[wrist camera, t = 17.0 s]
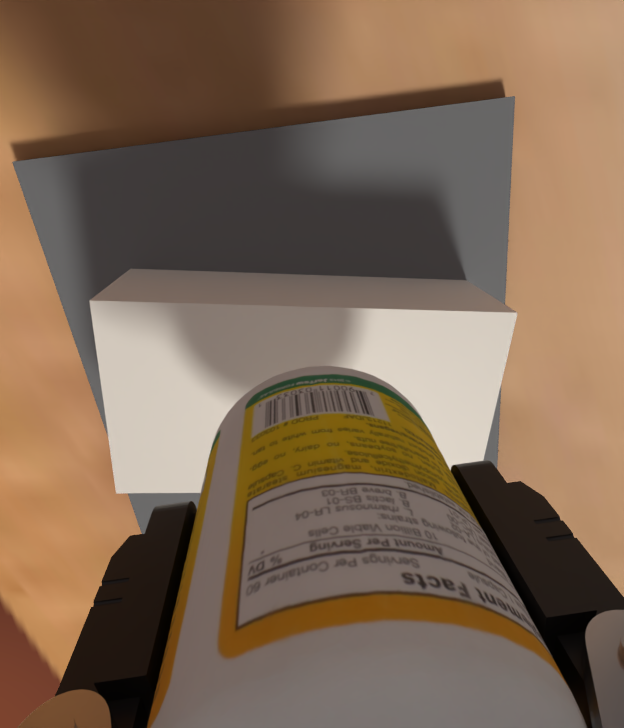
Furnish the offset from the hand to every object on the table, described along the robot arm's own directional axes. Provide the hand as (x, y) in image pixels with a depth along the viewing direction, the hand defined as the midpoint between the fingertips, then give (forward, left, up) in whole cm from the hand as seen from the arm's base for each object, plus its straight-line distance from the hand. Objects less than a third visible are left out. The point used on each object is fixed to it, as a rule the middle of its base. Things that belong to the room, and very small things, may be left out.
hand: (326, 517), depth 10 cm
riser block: (0, 0, -9) cm, 9 cm away
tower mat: (0, 0, -10) cm, 10 cm away
